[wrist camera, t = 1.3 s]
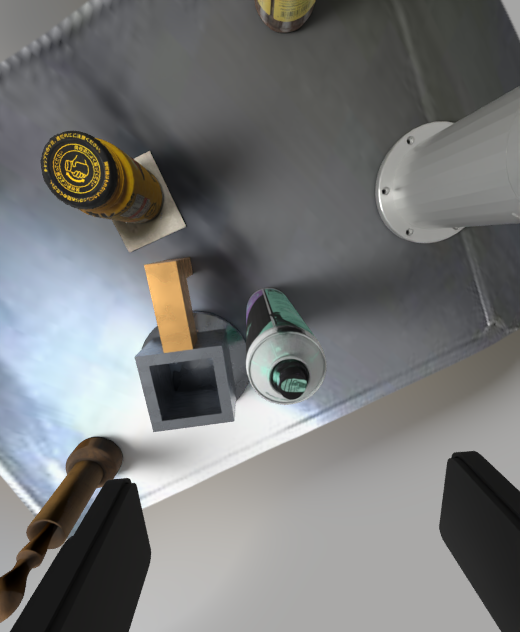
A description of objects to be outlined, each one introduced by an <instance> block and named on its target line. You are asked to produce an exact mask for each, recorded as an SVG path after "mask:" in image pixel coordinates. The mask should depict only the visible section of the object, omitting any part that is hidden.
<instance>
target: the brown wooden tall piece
mask: <svg viewBox="0 0 520 632" xmlns="http://www.w3.org/2000/svg"><path fill="white" fill-rule="evenodd" d="M122 461H123V455H122V452H121V450H120V448H119V447H118V446H117V445H116V444H115V443H114V442H112V441H111V440H108V439H105V438H100V437H93V438H88V439H86V440H84V441H82V442H81V443H80V444H79V445H78V446H77V447H76V448H75V450H74V451H73V452H72V453H71V455H70V456H69V457H68V459H67V462H66V472H67V476H66V477H65V479H64V480H63V481H62V483H61V484H60V485H59V487H58V488H57V489H56V491H55V492H54V493H53V495H52V496H51V497H50V499H49V500H48V501H47V503H46V504H45V505H44V507H43V508H42V509H41V511H40V512H39V513H38V514H37V516H36V517H35V518H34V520H33V521H32V522H31V524H30V525H29V526H28V528H27V532H26V533H27V537H28V539H29V540H30V542H29V543H28V544H27V545H26V546H25V547H24V548H23V549H22V550H21V551H20V552H19V553H18V555H17V558H16V559H17V563H16V565H15V566H14V568H13V569H12V570H11V571H9V572H8V573H6V574H5V575H3V576H2V577H0V623H1V622H2V621H4V620H5V619H7V618H8V617H9V616H10V615H11V614H12V613H13V612H14V611H15V610H16V609H17V607H18V606H19V605H20V603H21V601H22V599H23V596H24V592H25V587H26V580H27V576H28V574H29V572H30V570H31V569H32V568H36V567H38V566H39V565H40V564H41V563H42V561H43V559H44V556H45V554H46V552H47V549H55V548H58V547H60V546H61V545H62V544H63V543H64V542H65V540H66V539H67V537H68V535H69V534H70V532H71V530H72V528H73V527H74V525H75V523H76V522H77V520H78V518H79V517H80V515H81V513H82V512H83V510H84V508H85V506H86V505H87V503H88V501H89V500H90V498H91V496H92V495H93V493H94V491H95V490H96V488H100V487H103V485H104V484H105V483H106V481H108V480H110V479H114V477H115V475H116V474H117V472H118V470H119V468H120V466H121V464H122Z"/></svg>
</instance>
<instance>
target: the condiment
mask: <svg viewBox="0 0 520 632" xmlns="http://www.w3.org/2000/svg"><path fill="white" fill-rule="evenodd" d="M41 168H42V174H43V178H44V181H45V183H46V184H47V186H48V187H49V189H50V190H51V192H52V193H53V194H54V195H55V196H56V197H57V198H58V199H59V200H61V201H63V202H64V203H65V204H67V205H70V206H71V207H74V208H78V209H79V210H81V211H82V212H84V213H86V214H88V215H92V216H94V217H100V218H106V219H112V221H113V223H114V225H115V227H116V228H117V230H118V232H119V234H120V236H121V238H122V240H123V242H124V244H125V246H126V247H127V249H128V251H129V252H131V251H134V250H136V249H138V248H140V247H143V246H145V245H147V244H149V243H151V242H153V241H156V240H158V239H160V238H162V237H164V236H166V235H168V234H171V233H173V232H175V231H177V230H179V229H181V228H183V227H186V225H185V223H184V221H183V219H182V217H181V215H180V213H179V211H178V209H177V207H176V205H175V203H174V201H173V198H172V196H171V194H170V192H169V190H168V188H167V186H166V184H165V182H164V180H163V177H162V175H161V173H160V171H159V169H158V167H157V165H156V163H155V161H154V159H153V157H152V155H151V153H150V151H148V152H147V153H144V154H142V155H140V156H139V157H136V158H135V159H133V158H131V157H130V156H128V155H127V154H126V153H124V152H123V151H122V150H120V149H119V148H117V147H116V146H114V145H113V144H111V143H109V142H107V141H104V140H102V139H98V138H94V137H93V136H91V135H88V134H87V133H83V132H79V131H66V132H62V133H60V134H57V135H55V136H53V137H52V138H50V140H49V142H48V143H47V144H46V145H45V147H44V150H43V153H42V158H41ZM161 213H162V215H161ZM161 216H162V219H160V217H161ZM126 222H127V223H126Z"/></svg>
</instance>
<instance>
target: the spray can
mask: <svg viewBox="0 0 520 632" xmlns="http://www.w3.org/2000/svg"><path fill="white" fill-rule="evenodd" d="M246 370H247V374H248V377H249V380H250V383H251V385H252V387H253V389H254V390H255V391H256V392H257V393H258V395H260V396H261V397H262V398H264V399H265V400H267V401H270V402H272V403H276V404H282V405H288V404H295V403H299V402H302V401H304V400H306V399H308V398H309V397H310V396H312V395H313V394H314V393H315V392H316V391H317V390H318V389H319V387H320V386H321V384H322V383H323V380H324V378H325V374H326V359H325V355H324V352H323V349H322V347H321V345H320V343H319V342H318V340H317V339H316V338H315V336H314V335H313V333H312V332H311V331H310V329H309V328H308V326H307V325H306V324H305V322H304V321H303V319H302V318H301V317H300V315H299V314H298V312H297V311H296V310H295V308H294V307H293V305H292V304H291V303H290V301H289V300H288V298H287V297H286V296H285V295H284V294H283V293H282V292H281V291H279V290H277V289H274V288H263V289H260V290H258V291H256V292H255V293H254V294H253V295H252V296H251V297H250V299H249V301H248V304H247V309H246Z"/></svg>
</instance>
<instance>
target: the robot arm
mask: <svg viewBox="0 0 520 632" xmlns="http://www.w3.org/2000/svg"><path fill="white" fill-rule="evenodd" d="M407 141H408V144H407ZM382 190H383V191H384V194H382ZM375 197H376V203H377V208H378V211H379V214H380V217H381V218H382V220H383V222H384V223H385V225H386V226H387V227H388V228H389V229H390V230H391V231H392V232H393V233H394V234H395V235H397V236H398V237H400V238H402V239H404V240H407V241H410V242H415V243H433V242H438V241H442V240H445V239H447V238H449V237H451V236H453V235H455V234H457V233H458V232H459V231H461V230H462V229H463V228H464V227H472V226H486V225H501V224H516V223H520V86H519V87H517V88H515V89H514V90H512V91H510V92H508V93H507V94H505V95H503V96H501V97H500V98H498V99H496V100H494V101H493V102H491V103H489V104H487V105H486V106H484V107H482V108H480V109H479V110H477V111H475V112H473V113H472V114H470V115H468V116H466V117H465V118H463V119H461V120H459V121H458V122H456V123H452V122H448V121H436V122H431V123H427V124H424V125H422V126H419V127H417V128H415V129H413V130H412V131H410V132H409V133H407V134H406V135H404V136H403V137H402V138H401V139H400V140H398V141H397V142H396V143H395V144H394V146H393V147H392V148H391V149H390V150H389V152H388V153H387V155H386V157H385V158H384V160H383V162H382V164H381V167H380V169H379V172H378V176H377V181H376V192H375ZM406 230H407V234H406ZM439 529H440V533H441V536H442V538H443V540H444V542H445V544H446V545H447V547H448V549H449V550H450V552H451V553H452V555H453V556H454V558H455V560H456V561H457V563H458V564H459V566H460V567H461V569H462V571H463V572H464V574H465V575H466V577H467V578H468V580H469V581H470V583H471V585H472V586H473V588H474V589H475V591H476V593H477V594H478V595H479V597H480V599H481V600H482V602H483V604H484V605H485V607H486V608H487V610H488V611H489V613H490V614H491V616H492V618H493V619H494V621H495V622H496V624H497V626H498V627H499V629H500V630H501V632H520V491H519V490H518V489H516V488H515V487H514V486H513V485H512V484H511V483H510V482H509V481H508V480H507V479H506V478H505V477H504V476H503V475H502V474H501V473H500V472H498V471H497V470H496V469H495V468H494V467H493V466H492V465H491V464H490V463H489V462H488V461H487V460H486V459H484V457H483V456H481V455H480V454H479V453H478V452H475V451H469V452H456V453H453V454H452V458H449V459H448V462H447V469H446V476H445V484H444V493H443V500H442V508H441V517H440V524H439ZM150 559H151V548H150V544H149V539H148V535H147V530H146V526H145V521H144V517H143V512H142V508H141V503H140V499H139V494H138V490H137V486H136V484H135V483H131V480H130V479H129V478H123V479H110V480H108V481H106V483H105V484H104V485H103V487H102V489H101V490H100V492H99V494H98V495H97V497H96V499H95V500H94V502H93V504H92V505H91V507H90V509H89V510H88V512H87V514H86V515H85V517H84V519H83V520H82V522H81V524H80V526H79V527H78V529H77V531H76V532H75V534H74V536H71V537H70V538H69V539H68V540H67V541H66V542H65V544H64V545H63V546H62V548H61V549H60V551H59V553H58V554H57V556H56V557H55V559H54V561H53V562H52V564H51V566H50V567H49V569H48V571H47V572H46V574H45V575H44V577H43V579H42V580H41V582H40V584H39V585H38V587H37V588H36V590H35V592H34V593H33V595H32V597H31V598H30V600H29V601H28V603H27V605H26V606H25V608H24V610H23V612H22V613H21V615H20V616H19V618H18V619H17V621H16V623H15V624H14V626H13V628H12V629H11V631H10V632H129V629H130V626H131V622H132V619H133V616H134V613H135V609H136V606H137V603H138V600H139V597H140V594H141V590H142V587H143V584H144V581H145V577H146V574H147V571H148V568H149V564H150Z"/></svg>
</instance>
